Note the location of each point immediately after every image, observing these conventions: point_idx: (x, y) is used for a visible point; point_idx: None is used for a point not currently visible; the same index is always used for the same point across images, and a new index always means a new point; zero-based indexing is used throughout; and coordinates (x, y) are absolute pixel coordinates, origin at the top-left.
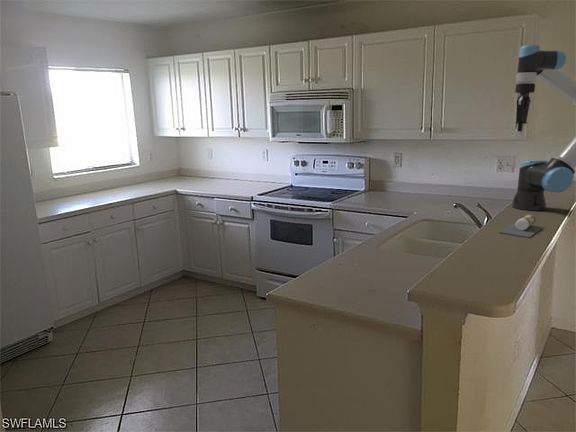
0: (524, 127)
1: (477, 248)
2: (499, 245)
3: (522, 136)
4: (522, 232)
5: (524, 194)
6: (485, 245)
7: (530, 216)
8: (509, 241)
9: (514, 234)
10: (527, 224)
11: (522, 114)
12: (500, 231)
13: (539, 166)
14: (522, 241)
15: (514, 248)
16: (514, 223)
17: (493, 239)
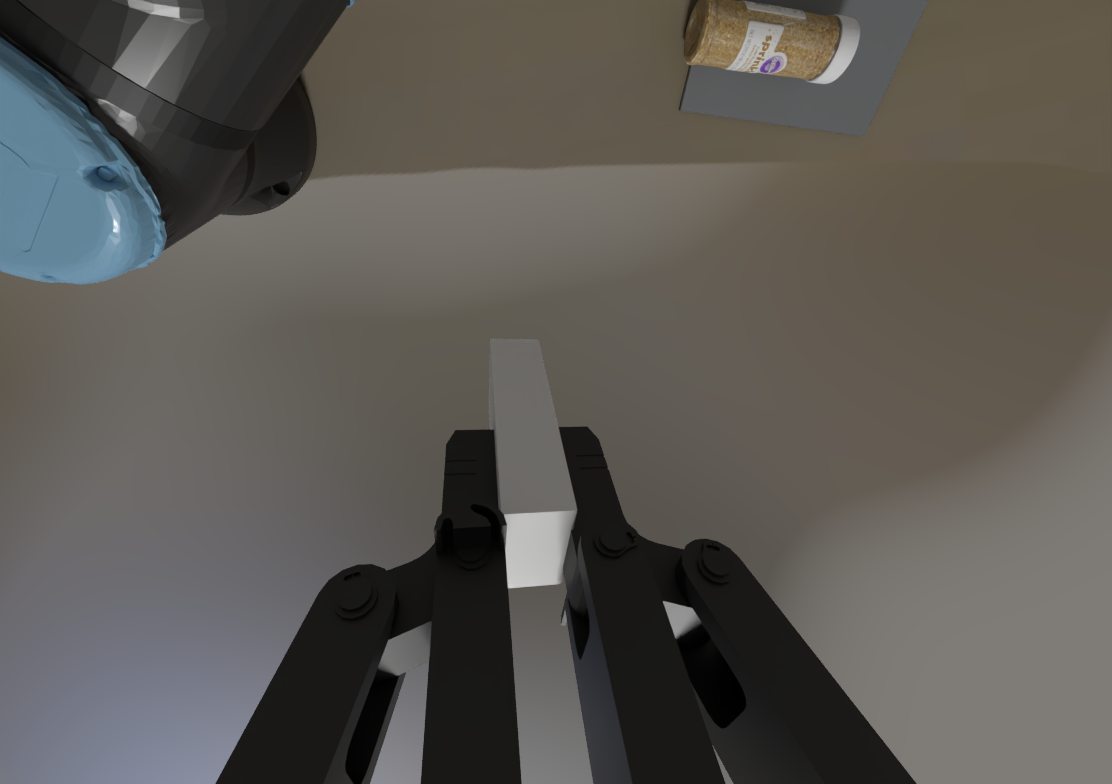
0: (502, 454)
1: (1067, 154)
2: (1037, 93)
3: (541, 361)
4: None
5: (265, 150)
6: (1034, 139)
7: (753, 22)
8: (983, 68)
9: (896, 67)
10: (855, 19)
11: (876, 739)
12: (855, 133)
13: (162, 66)
14: (983, 14)
15: (1082, 29)
16: (693, 107)
17: (956, 133)
